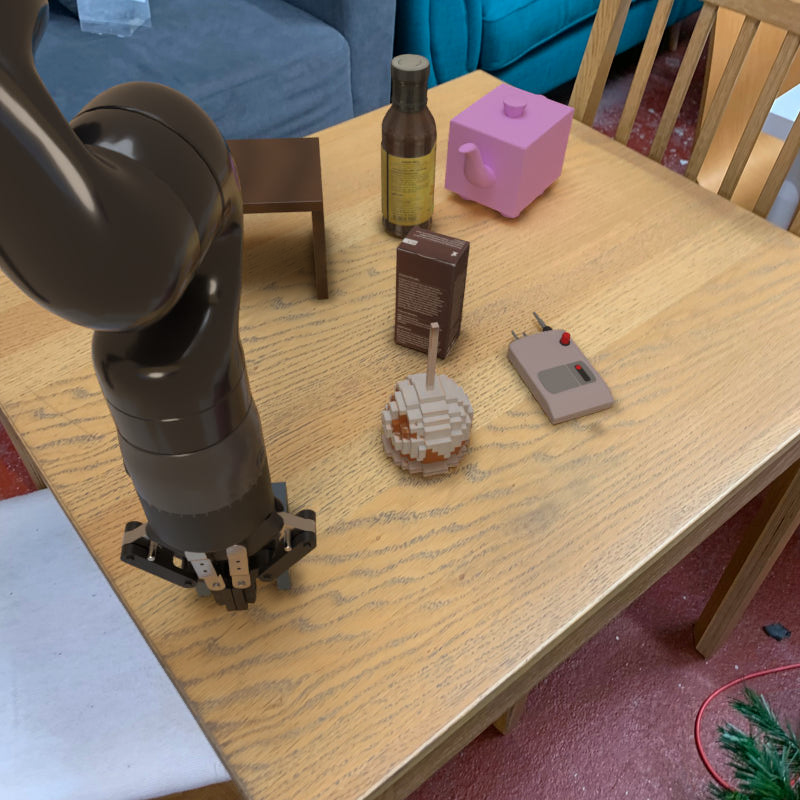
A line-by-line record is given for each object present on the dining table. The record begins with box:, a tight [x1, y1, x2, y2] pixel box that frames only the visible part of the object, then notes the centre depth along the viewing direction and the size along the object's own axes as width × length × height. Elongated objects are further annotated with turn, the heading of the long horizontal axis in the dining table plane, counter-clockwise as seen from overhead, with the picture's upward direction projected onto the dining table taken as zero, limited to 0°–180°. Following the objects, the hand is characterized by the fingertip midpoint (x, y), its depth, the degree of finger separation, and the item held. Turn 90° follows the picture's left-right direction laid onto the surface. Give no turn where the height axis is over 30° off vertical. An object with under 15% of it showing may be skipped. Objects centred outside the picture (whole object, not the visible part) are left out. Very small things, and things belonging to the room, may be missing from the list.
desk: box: [225, 136, 329, 300], centre depth 82 cm, size 16×12×12 cm
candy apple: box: [380, 322, 475, 478], centre depth 65 cm, size 8×8×15 cm
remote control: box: [506, 311, 615, 440], centre depth 76 cm, size 7×16×3 cm, turn 22°
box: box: [393, 226, 471, 360], centre depth 75 cm, size 6×4×12 cm
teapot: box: [443, 82, 576, 219], centre depth 93 cm, size 20×10×12 cm, turn 144°
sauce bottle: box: [380, 53, 438, 239], centre depth 86 cm, size 6×6×20 cm
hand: (238, 599), depth 56 cm, fingers closed
